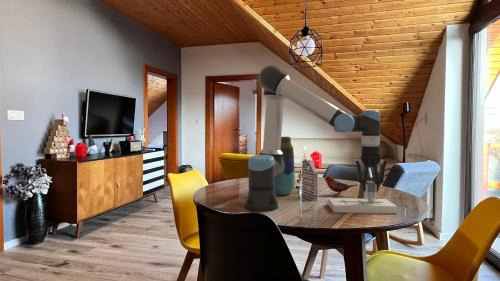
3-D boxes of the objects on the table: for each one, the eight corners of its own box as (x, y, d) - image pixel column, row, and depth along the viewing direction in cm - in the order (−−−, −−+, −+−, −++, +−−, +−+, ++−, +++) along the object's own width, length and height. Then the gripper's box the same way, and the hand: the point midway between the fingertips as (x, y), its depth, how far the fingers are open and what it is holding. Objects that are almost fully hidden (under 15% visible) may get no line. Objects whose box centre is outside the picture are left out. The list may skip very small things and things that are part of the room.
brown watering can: (388, 202, 152) (388, 165, 151) (358, 201, 155) (358, 164, 155) (384, 198, 161) (385, 163, 160) (356, 197, 164) (356, 162, 163)
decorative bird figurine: (324, 193, 175) (324, 175, 174) (358, 195, 168) (358, 177, 168) (323, 194, 172) (323, 176, 171) (357, 196, 165) (358, 177, 165)
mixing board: (333, 212, 135) (333, 205, 135) (328, 204, 149) (328, 198, 149) (397, 213, 133) (397, 205, 133) (385, 205, 147) (385, 198, 147)
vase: (266, 195, 170) (266, 137, 169) (272, 190, 183) (272, 136, 182) (292, 197, 166) (292, 137, 165) (296, 192, 179) (296, 136, 178)
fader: (368, 202, 138) (368, 182, 138) (365, 199, 143) (365, 180, 143) (375, 202, 138) (375, 182, 137) (371, 200, 143) (372, 180, 142)
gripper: (354, 146, 136) (353, 200, 137) (392, 146, 135) (392, 200, 136) (350, 145, 144) (349, 196, 145) (386, 145, 143) (386, 197, 143)
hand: (370, 198), depth 140 cm, fingers closed on fader, 3 cm apart
